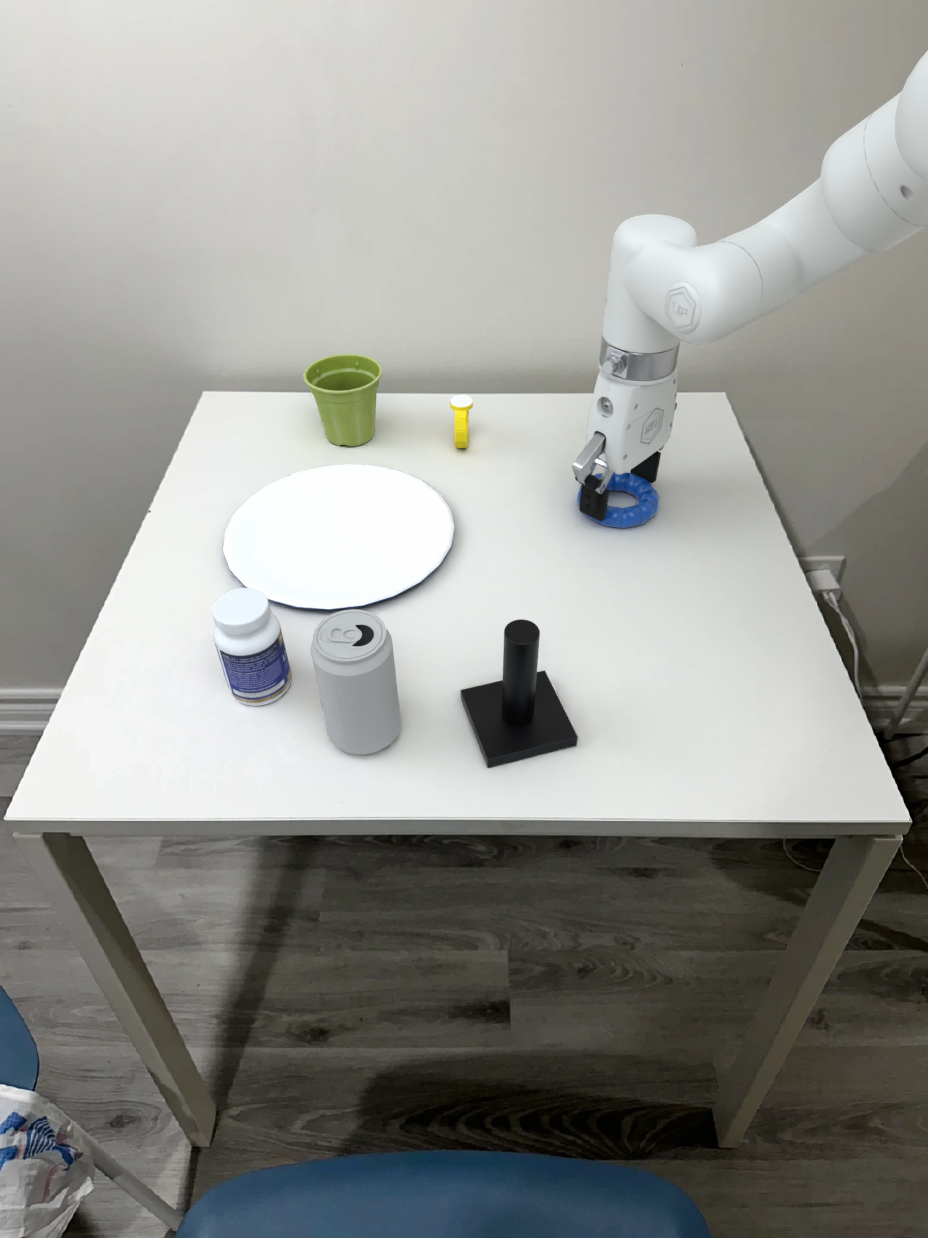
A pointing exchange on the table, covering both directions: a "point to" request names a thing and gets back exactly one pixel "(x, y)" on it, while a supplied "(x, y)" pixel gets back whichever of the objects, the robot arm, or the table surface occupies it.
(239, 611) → the pill bottle
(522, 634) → the peg stand
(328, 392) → the plant pot
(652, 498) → the ring
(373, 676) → the beverage can
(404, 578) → the plate
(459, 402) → the watch
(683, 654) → the table surface
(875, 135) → the robot arm
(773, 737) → the table surface
